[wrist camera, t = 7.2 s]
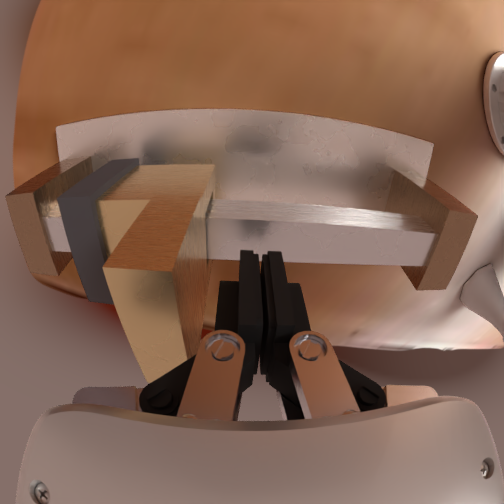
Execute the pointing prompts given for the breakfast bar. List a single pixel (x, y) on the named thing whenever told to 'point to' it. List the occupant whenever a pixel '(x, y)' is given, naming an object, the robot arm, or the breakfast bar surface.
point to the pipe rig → (268, 189)
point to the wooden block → (158, 259)
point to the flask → (485, 297)
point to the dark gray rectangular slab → (91, 225)
